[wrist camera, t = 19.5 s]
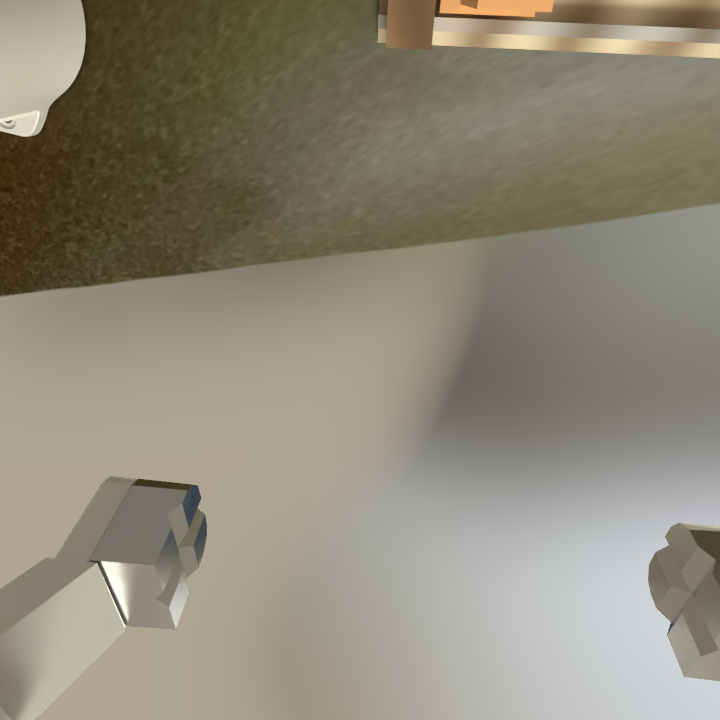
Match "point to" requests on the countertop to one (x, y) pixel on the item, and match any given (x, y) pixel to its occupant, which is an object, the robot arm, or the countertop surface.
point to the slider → (495, 7)
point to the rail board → (562, 27)
